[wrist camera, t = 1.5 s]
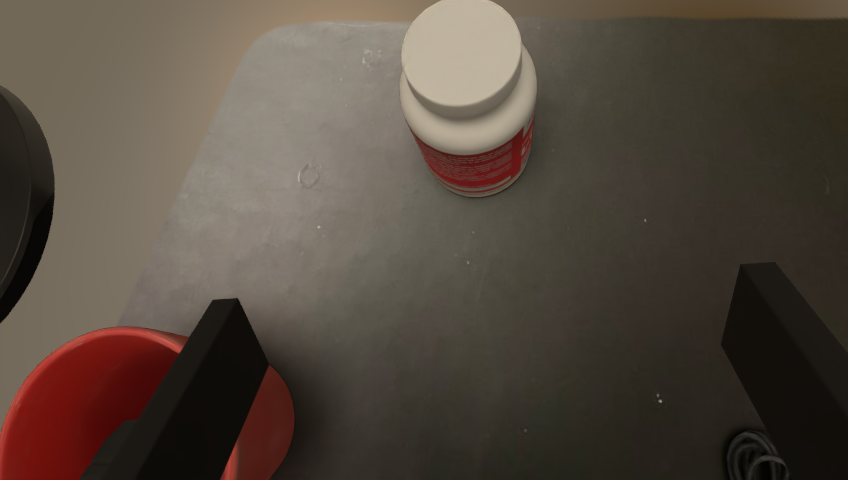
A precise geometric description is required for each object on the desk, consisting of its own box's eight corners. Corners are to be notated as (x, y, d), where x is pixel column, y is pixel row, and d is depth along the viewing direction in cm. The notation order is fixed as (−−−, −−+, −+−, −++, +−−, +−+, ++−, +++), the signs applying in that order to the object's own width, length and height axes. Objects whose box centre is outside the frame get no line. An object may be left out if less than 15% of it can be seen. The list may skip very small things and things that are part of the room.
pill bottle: (540, 187, 29) (559, 103, 18) (436, 209, 30) (396, 141, 19) (517, 89, 30) (522, -43, 20) (418, 113, 31) (370, 0, 20)
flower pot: (218, 291, 31) (92, 275, 22) (358, 397, 29) (284, 431, 19) (117, 438, 31) (-56, 486, 21) (251, 559, 28) (122, 675, 19)
